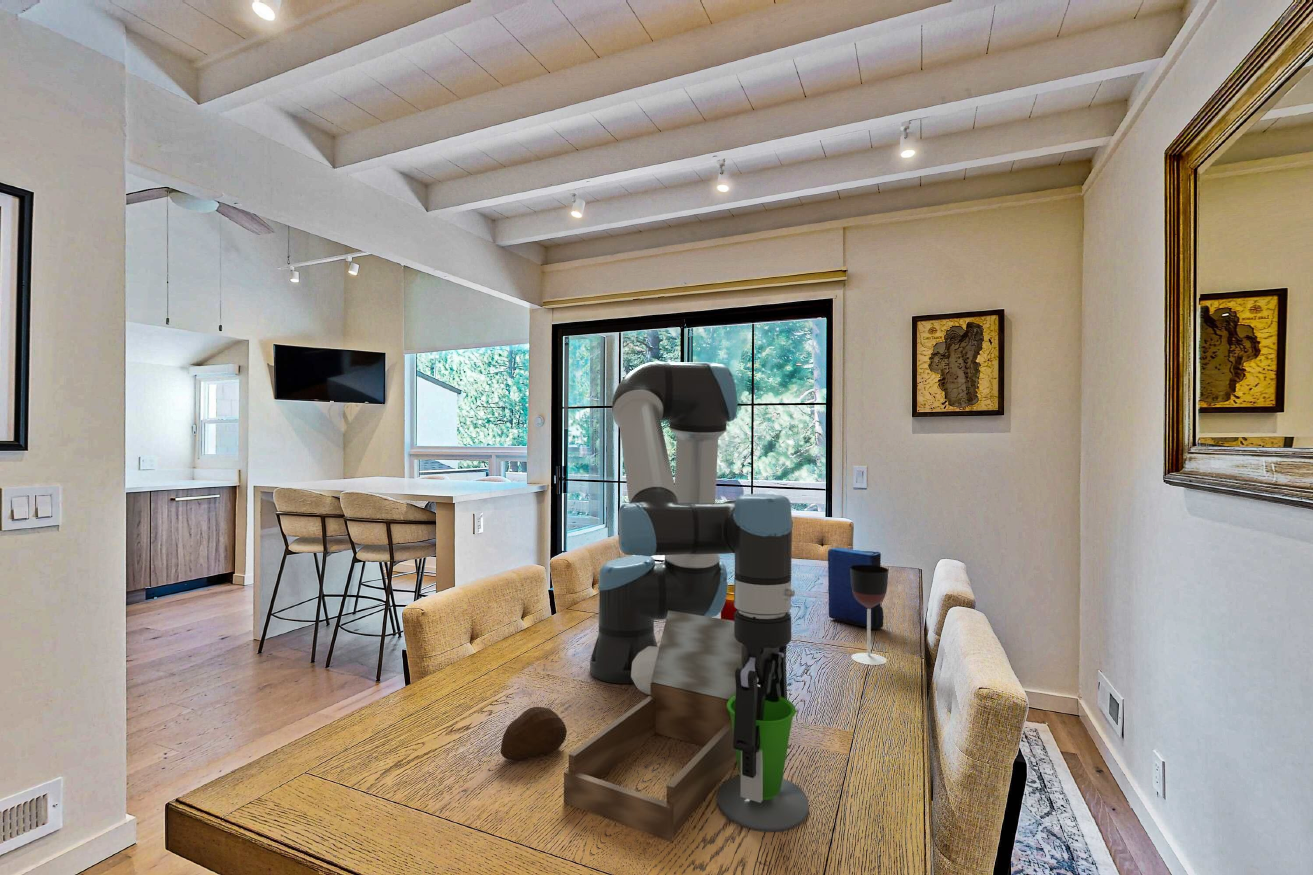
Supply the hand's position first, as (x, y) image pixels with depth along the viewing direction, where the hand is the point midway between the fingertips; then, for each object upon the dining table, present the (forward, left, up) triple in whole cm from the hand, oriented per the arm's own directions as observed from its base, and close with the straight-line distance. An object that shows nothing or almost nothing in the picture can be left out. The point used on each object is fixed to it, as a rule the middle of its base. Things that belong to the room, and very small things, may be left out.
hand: (762, 782), depth 82 cm
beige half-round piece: (-29, +23, -3) cm, 37 cm away
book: (-6, +89, -3) cm, 89 cm away
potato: (-35, -5, -3) cm, 36 cm away
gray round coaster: (0, 0, -3) cm, 3 cm away
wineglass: (+2, +64, -3) cm, 64 cm away
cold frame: (-15, +2, -3) cm, 15 cm away
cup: (0, -1, -1) cm, 1 cm away
